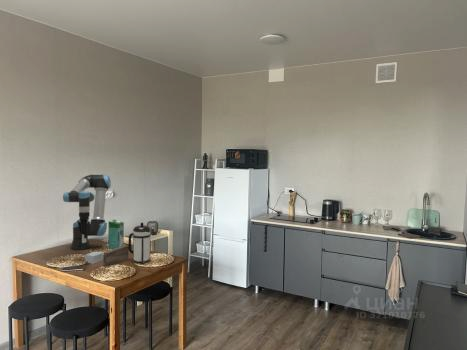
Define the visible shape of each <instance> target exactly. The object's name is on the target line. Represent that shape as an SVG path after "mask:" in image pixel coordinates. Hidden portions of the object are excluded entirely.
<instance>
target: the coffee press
mask: <svg viewBox="0 0 467 350" xmlns="http://www.w3.org/2000/svg"><path fill="white" fill-rule="evenodd" d="M132 231H133V232H131V233H130V234H129V236H128V252H129V253H131V254H132V256H133V258H132V259H131V263H132V264H133V263H134V262H140V263H141V262H142V263H143V264H144V262H147V261H149V260H151V259H152V257H151V228H150V226H148V225H146V224H145V225H144V222H140V225H136V226H135V227H133V229H132ZM132 241H133V244H132Z"/></svg>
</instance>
